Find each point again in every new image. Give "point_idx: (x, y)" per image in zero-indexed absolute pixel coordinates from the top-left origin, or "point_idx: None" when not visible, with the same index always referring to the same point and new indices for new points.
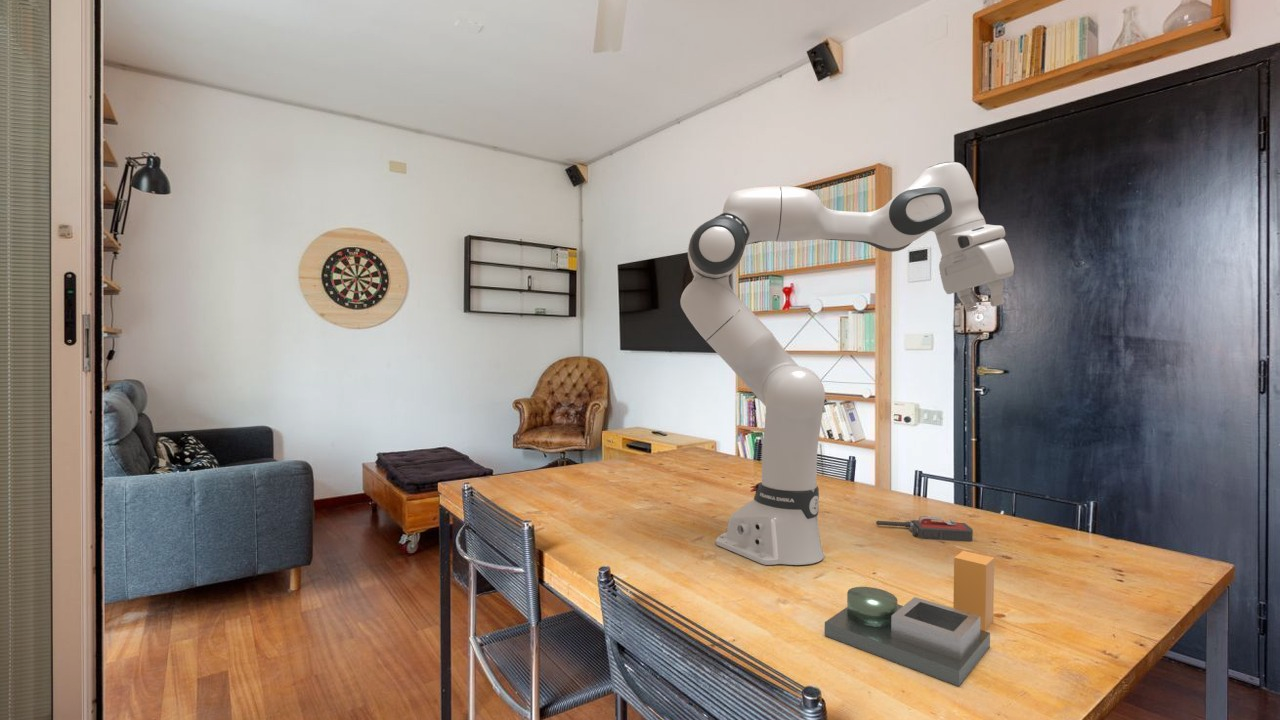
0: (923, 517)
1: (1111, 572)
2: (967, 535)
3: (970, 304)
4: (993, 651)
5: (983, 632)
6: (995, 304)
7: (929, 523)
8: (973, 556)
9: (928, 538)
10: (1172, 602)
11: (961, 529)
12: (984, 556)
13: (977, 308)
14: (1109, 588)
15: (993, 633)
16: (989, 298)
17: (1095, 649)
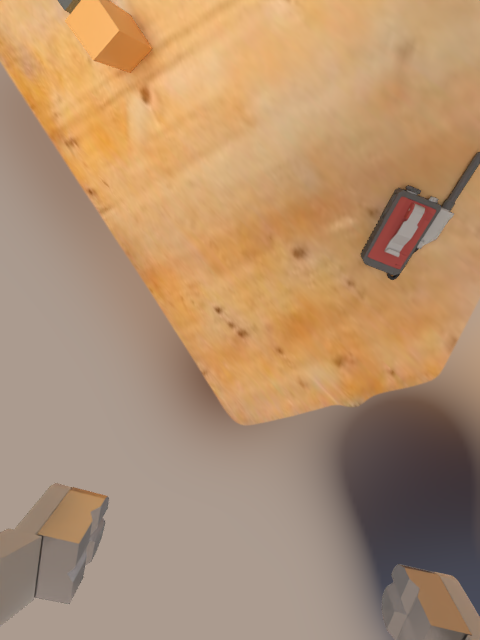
0: (418, 212)
1: (237, 322)
2: (363, 252)
3: (413, 624)
4: (65, 11)
5: (65, 1)
6: (51, 485)
7: (405, 214)
8: (96, 28)
9: (389, 200)
10: (168, 304)
11: (371, 249)
12: (97, 48)
13: (383, 610)
14: (201, 281)
15: None
16: (71, 539)
17: (78, 137)
